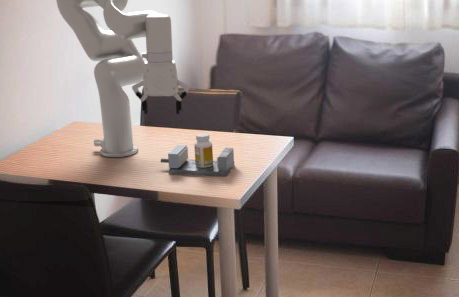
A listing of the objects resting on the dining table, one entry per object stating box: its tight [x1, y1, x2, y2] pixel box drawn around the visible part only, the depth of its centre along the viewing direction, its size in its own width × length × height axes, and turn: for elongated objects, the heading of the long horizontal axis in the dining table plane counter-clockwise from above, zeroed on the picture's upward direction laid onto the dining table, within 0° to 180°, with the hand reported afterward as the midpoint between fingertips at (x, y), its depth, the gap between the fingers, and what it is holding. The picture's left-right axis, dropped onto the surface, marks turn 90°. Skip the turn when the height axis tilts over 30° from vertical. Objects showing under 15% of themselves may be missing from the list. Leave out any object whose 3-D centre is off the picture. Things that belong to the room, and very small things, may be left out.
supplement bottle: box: [193, 132, 214, 168], centre depth 207 cm, size 5×5×10 cm
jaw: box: [160, 144, 189, 169], centre depth 210 cm, size 7×9×4 cm
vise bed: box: [168, 147, 235, 178], centre depth 208 cm, size 18×10×6 cm, turn 76°
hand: (162, 112), depth 207 cm, fingers open, 9 cm apart
